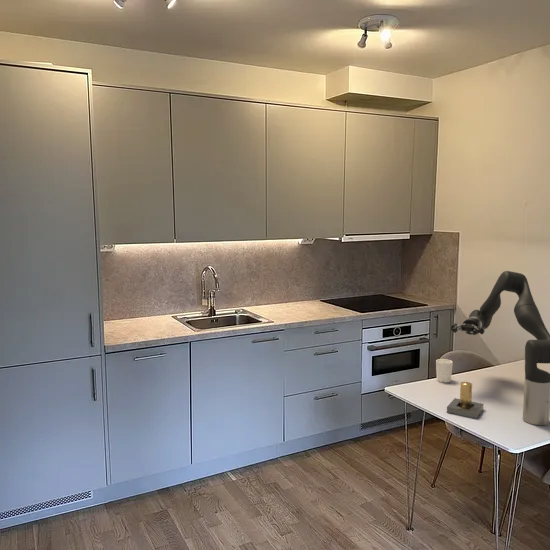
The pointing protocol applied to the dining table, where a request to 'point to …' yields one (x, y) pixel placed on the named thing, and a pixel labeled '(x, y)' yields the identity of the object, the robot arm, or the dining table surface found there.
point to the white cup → (443, 370)
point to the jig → (465, 409)
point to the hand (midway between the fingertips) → (464, 331)
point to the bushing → (466, 395)
